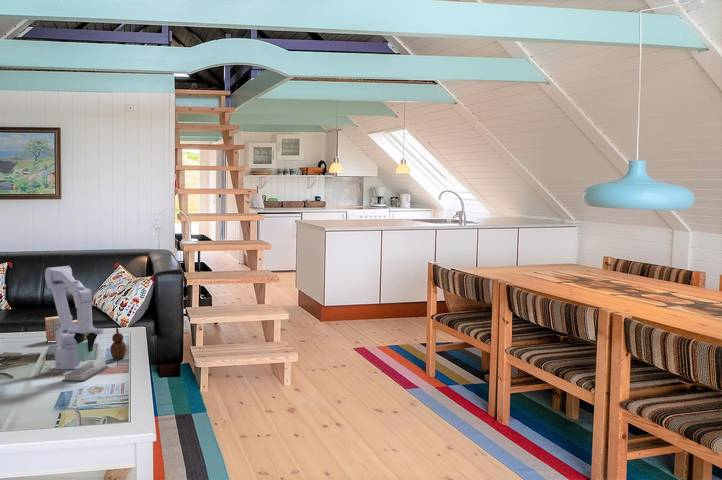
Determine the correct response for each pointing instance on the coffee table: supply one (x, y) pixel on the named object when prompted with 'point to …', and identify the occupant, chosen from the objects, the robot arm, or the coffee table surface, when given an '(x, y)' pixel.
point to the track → (85, 372)
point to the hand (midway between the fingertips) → (86, 351)
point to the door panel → (84, 351)
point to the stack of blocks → (53, 327)
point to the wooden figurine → (118, 346)
